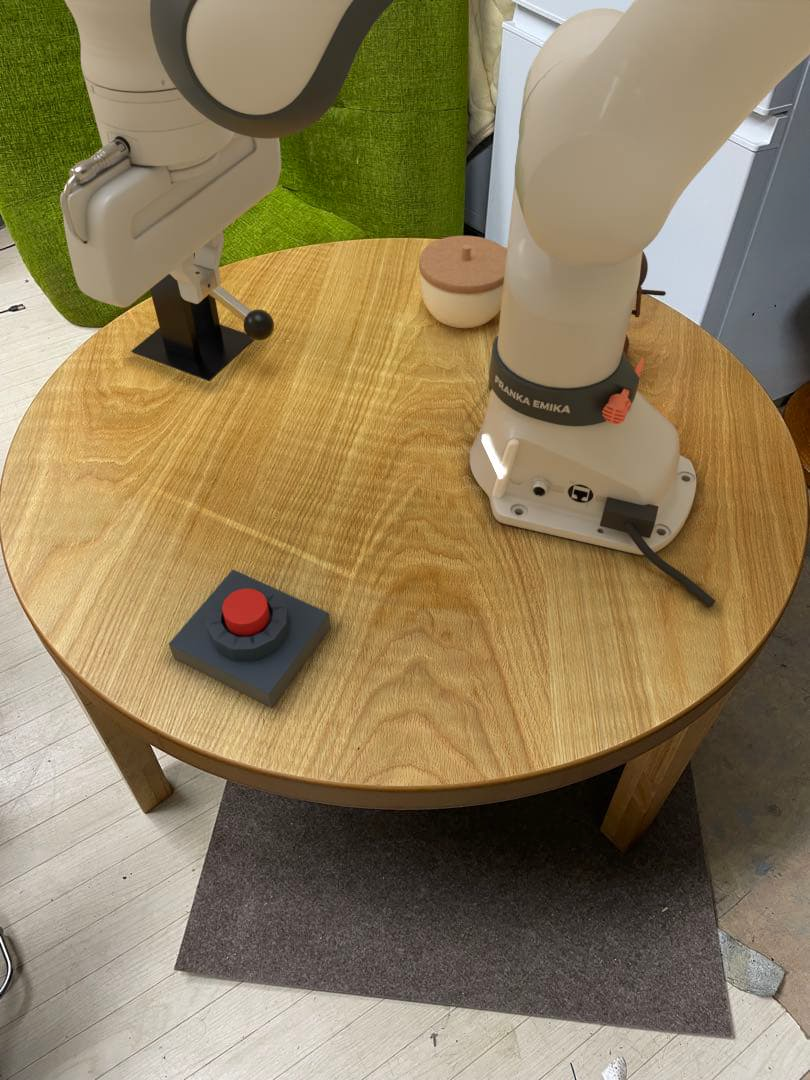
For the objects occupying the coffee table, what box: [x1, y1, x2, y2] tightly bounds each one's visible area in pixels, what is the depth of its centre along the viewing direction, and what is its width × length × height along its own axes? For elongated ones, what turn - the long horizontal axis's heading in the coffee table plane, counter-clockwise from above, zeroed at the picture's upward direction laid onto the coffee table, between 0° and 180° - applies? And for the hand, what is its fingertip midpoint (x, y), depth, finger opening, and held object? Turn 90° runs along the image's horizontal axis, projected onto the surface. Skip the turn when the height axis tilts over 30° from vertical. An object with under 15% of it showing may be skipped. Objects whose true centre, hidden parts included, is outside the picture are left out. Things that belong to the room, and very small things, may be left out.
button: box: [222, 589, 270, 636], centre depth 71 cm, size 4×4×2 cm
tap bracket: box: [130, 253, 255, 382], centre depth 95 cm, size 11×9×14 cm
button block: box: [168, 569, 331, 709], centre depth 72 cm, size 10×9×4 cm
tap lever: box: [190, 265, 275, 342], centre depth 91 cm, size 14×3×3 cm, turn 62°
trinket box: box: [418, 235, 507, 329], centre depth 101 cm, size 11×11×9 cm
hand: (201, 292), depth 68 cm, fingers closed
